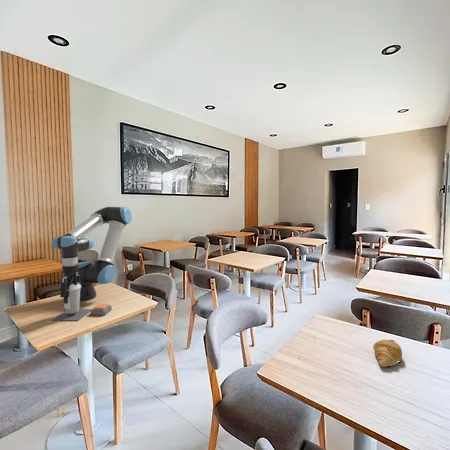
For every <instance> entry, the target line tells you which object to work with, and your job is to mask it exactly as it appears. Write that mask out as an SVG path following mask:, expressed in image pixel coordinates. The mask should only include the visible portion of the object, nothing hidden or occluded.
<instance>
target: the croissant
mask: <svg viewBox="0 0 450 450" xmlns="http://www.w3.org/2000/svg"><path fill="white" fill-rule="evenodd" d="M372 347H373V351H374V355H375V354H376V355H375V356H376V360H377V359H378V360H379V361H378V360H377V361H378V364H379V365H381V366H380V367H382V368H388V367H387V366H391V367H393V366H396V365H398V364H397V362H398V361H401V362H402V360H403V359H402V358H403V350H402V348H401V345H400V344H398V343H397V342H396V341H395V340H393V339H382V340H378V341H376V342H374V344H373V346H372ZM395 364H396V365H395ZM392 365H393V366H392Z"/></svg>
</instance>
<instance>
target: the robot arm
mask: <svg viewBox="0 0 450 450" xmlns="http://www.w3.org/2000/svg"><path fill="white" fill-rule="evenodd" d="M132 218H133V215H132V212H131V209H130V208H128V207H126V206H105V207H103V208H101V209H98V210H97V211H95V212H93V213H91V215H90V217H89V218H86V220H84V221H82V222H81V223H79V224H78V225H76V226H75V227H74V228H72V229H71V230H70V231H68V232H66V234H64V235H62V236H59V235H58V236H55V237H54V238H53V239H52V241H51V245H52V247H53V249H55V250H60V251H61V265H62V266H61V268H62V269H61V270H62V271H61V272H62V274H64V277H61V278H60V298H64V299H63V305H64V308H63V309H70V297H68V296H69V291H68V290H69V287H70V286H71V284H72V283H74V285H77V282H78V283H79V284H80V285H81V288H80V302H85V301H90V300H92V299H95V298H96V297H97V291H96V288H95V286H94V284H100V285H102V284H103V285H106V284H109V283H111V282H112V281H113V280H114V278H115V277H116V274H117V273H116V270H117V269H116V267H115V263H114V262H113V261H114V258H115V256H116V251H117V248H118V245H119V242H120V239H121V235H122V232H123V229H126V228H127V227H126V226H127V225H129V224H131V222H132V220H133V219H132ZM104 224H108V225H109V226H108V230H107V233H106V236H105V238H104V242H103V245H102V247H101V250H100V253H99V257H98V258H97V259H95V260H94V263H93V262H92V261H90V260H87V261H86V260H85V261H81V262H79V255H78V253H80V252H83V251H84V252H85V251H88V250H90V249H92V248H93V247H94V246H95V245H94V243H95V241H94V239H93V238H92V237H90V236H87V235H88V234H90V233H91V232H92V231H94V230H95V229H96V228H98V227H101V226H102V225H104ZM67 289H68V290H67Z"/></svg>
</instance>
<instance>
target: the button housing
mask: <svg viewBox="0 0 450 450" xmlns="http://www.w3.org/2000/svg"><path fill="white" fill-rule="evenodd" d="M91 309H92V310H91V311H90V312H89V313H90V316H98V317H99V316H101V317H102V316H103V317H104V316H106V315H108V313H111V310H112V309H113V307H112V305H111V304H108V307H107V308H106V309H105V310H94V307H93V308H91Z"/></svg>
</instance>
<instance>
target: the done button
mask: <svg viewBox="0 0 450 450" xmlns="http://www.w3.org/2000/svg"><path fill="white" fill-rule="evenodd" d="M108 305H109V303H98V304H96V305H95V306H94V307H93V308H94V310H105V309H106V308H107V307H108Z"/></svg>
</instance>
